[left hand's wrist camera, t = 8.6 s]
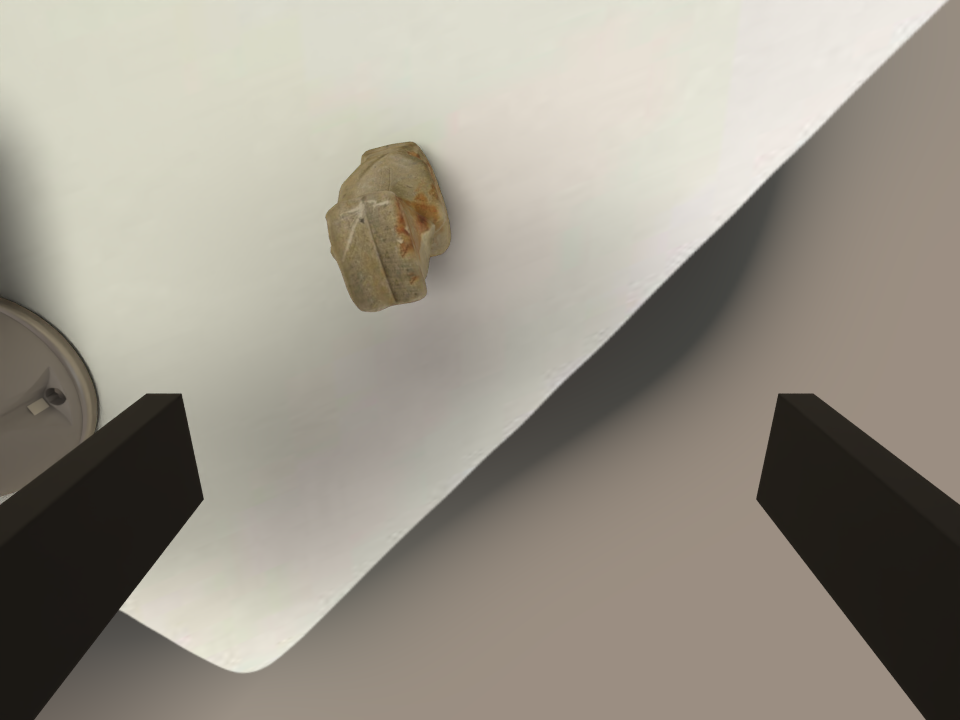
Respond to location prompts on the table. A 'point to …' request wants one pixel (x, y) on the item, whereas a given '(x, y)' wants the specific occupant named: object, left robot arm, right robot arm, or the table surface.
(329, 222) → the sculpture
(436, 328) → the table surface
